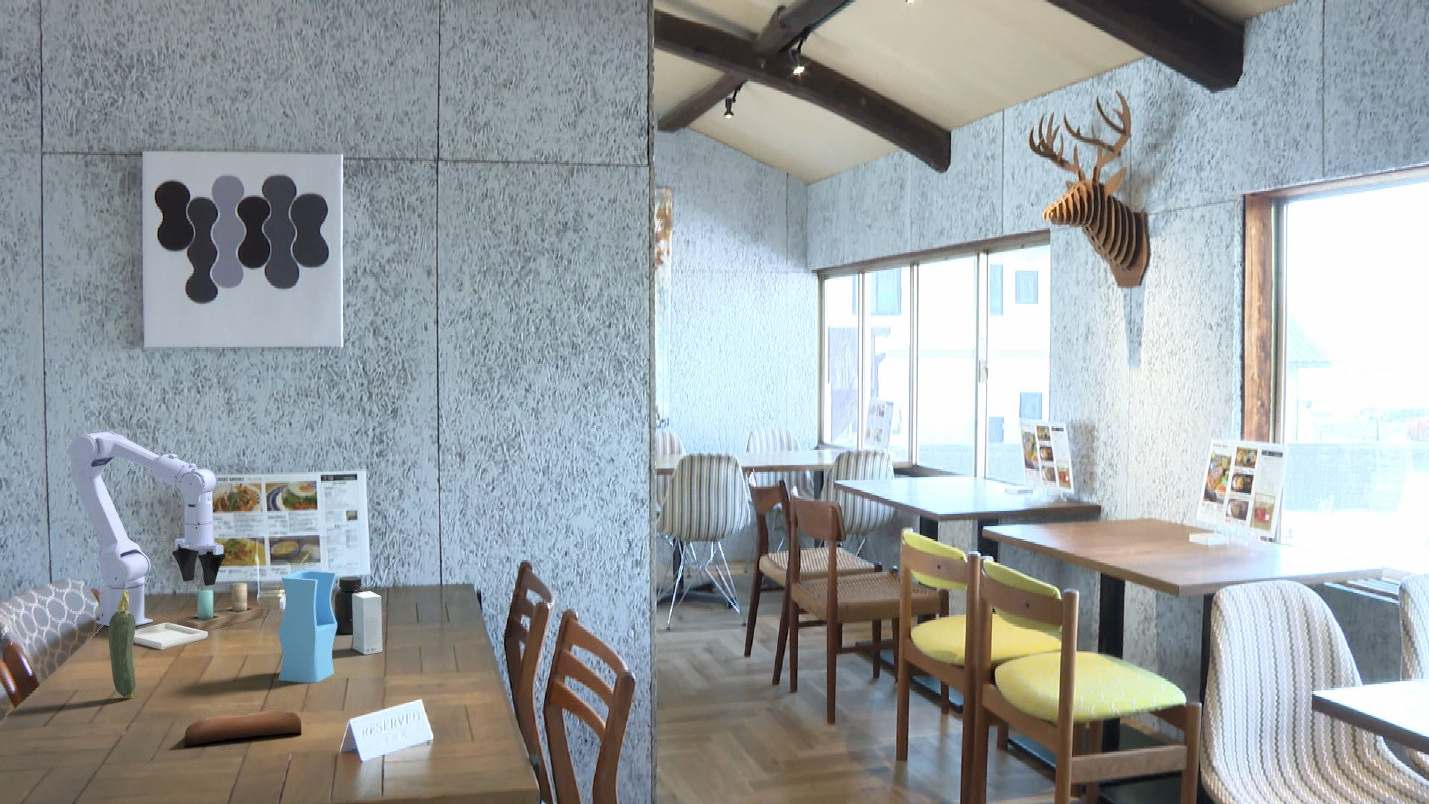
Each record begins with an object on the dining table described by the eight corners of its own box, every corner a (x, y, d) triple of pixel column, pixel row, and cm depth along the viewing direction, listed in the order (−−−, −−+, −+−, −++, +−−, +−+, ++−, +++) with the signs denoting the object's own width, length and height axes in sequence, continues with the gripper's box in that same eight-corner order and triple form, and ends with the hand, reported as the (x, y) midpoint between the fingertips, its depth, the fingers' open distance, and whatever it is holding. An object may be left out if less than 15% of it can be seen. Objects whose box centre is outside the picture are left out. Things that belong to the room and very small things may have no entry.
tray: (120, 639, 244) (120, 633, 244) (167, 628, 254) (167, 622, 254) (161, 649, 238) (161, 643, 237) (207, 638, 247) (207, 631, 247)
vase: (315, 683, 218) (315, 580, 216) (278, 680, 219) (278, 577, 218) (336, 672, 225) (337, 572, 224) (300, 668, 227) (301, 569, 226)
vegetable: (124, 704, 203) (123, 593, 202) (103, 702, 204) (102, 592, 203) (141, 696, 208) (140, 588, 206) (120, 694, 208) (120, 586, 207)
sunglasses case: (299, 719, 198) (300, 692, 194) (301, 751, 192) (302, 724, 189) (185, 731, 191) (184, 703, 187) (184, 764, 185) (183, 737, 182)
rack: (197, 632, 251) (197, 623, 251) (177, 628, 255) (177, 619, 254) (265, 616, 267) (265, 607, 267) (246, 612, 270) (246, 603, 270)
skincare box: (383, 652, 240) (383, 595, 239) (362, 655, 237) (363, 598, 236) (371, 645, 245) (372, 590, 244) (351, 649, 242) (351, 592, 241)
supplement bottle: (359, 635, 252) (359, 582, 252) (329, 634, 253) (329, 581, 252) (369, 627, 259) (369, 575, 259) (339, 626, 259) (340, 574, 259)
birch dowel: (229, 618, 264) (229, 584, 263) (240, 615, 267) (240, 582, 266) (238, 620, 262) (238, 586, 262) (249, 617, 265) (250, 583, 265)
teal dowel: (194, 626, 256) (194, 591, 256) (207, 623, 259) (207, 589, 258) (203, 628, 255) (203, 593, 254) (216, 625, 257) (216, 591, 257)
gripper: (162, 521, 255) (162, 581, 255) (203, 528, 247) (203, 590, 248) (190, 517, 261) (191, 576, 261) (231, 524, 253) (231, 584, 254)
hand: (199, 582), depth 255 cm, fingers open, 7 cm apart
